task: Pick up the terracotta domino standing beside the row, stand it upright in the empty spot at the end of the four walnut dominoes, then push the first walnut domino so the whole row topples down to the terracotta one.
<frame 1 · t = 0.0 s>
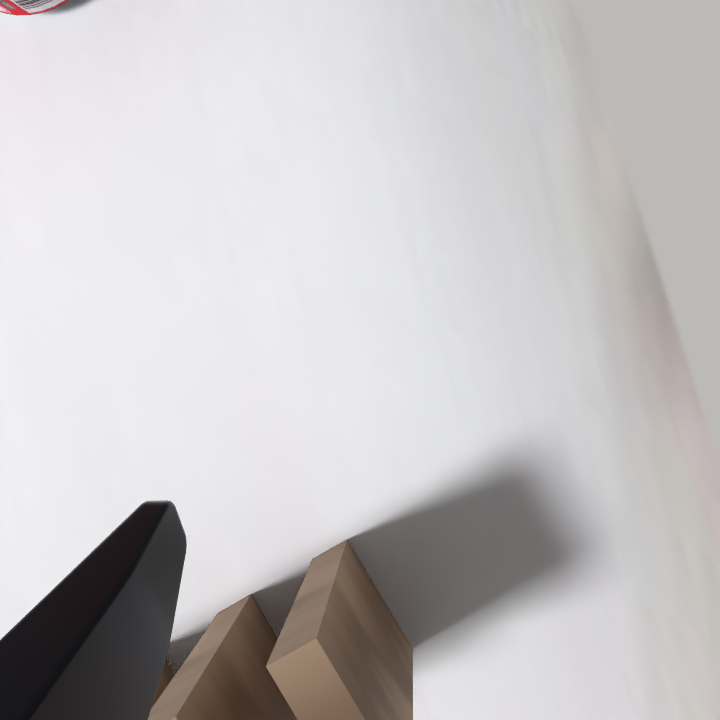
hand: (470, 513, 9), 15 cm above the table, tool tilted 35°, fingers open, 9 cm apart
domino 3: (266, 657, 25), on the table
domino 2: (173, 709, 26), on the table
domino 4: (362, 603, 25), on the table
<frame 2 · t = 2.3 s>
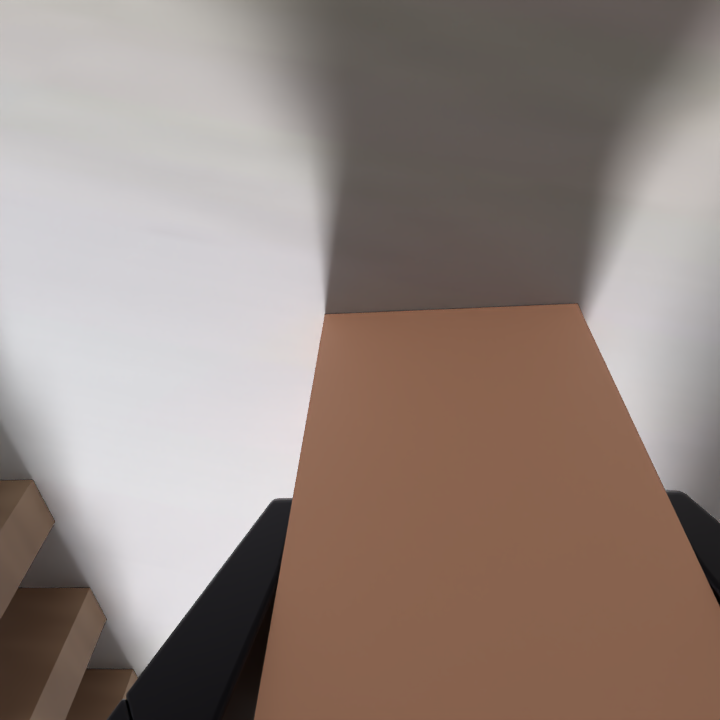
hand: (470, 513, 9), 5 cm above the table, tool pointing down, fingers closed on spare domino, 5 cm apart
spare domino: (448, 342, 13), on the table, touching gripper
domino 3: (19, 604, 19), on the table
domino 2: (70, 681, 22), on the table
when the fingers open (5 cm above the table, at t = 6.9 s): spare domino drops 1 cm, on the table.
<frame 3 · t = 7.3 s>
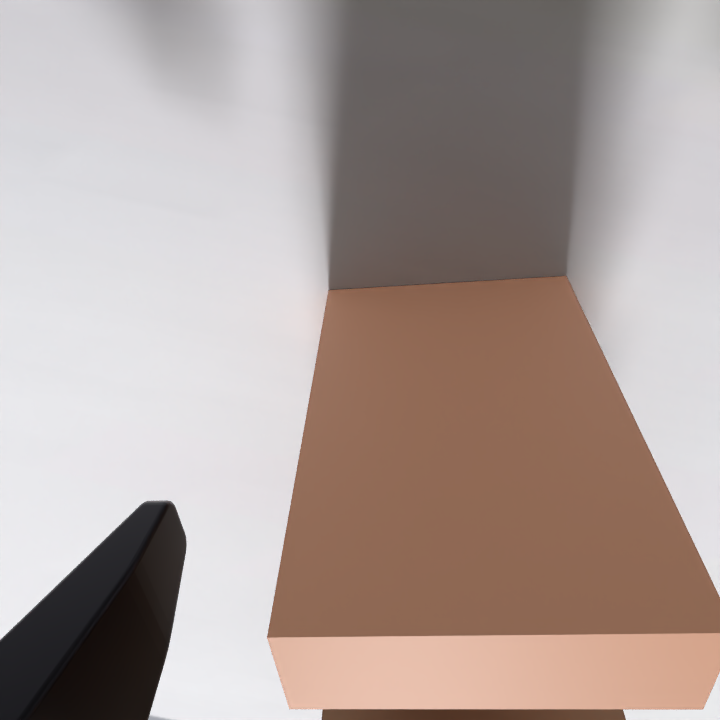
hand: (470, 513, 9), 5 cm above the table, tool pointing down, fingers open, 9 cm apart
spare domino: (445, 315, 14), on the table
domino 4: (444, 465, 16), on the table
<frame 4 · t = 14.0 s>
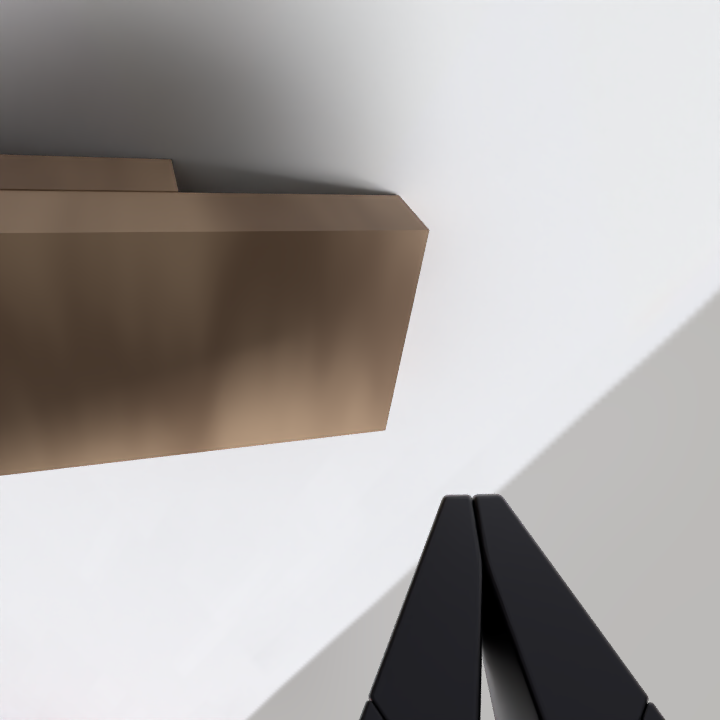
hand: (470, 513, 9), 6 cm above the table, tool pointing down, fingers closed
domino 2: (178, 288, 13), point 1 cm above the table, tilted 70°, touching domino 1, domino 3
domino 1: (391, 320, 14), point 1 cm above the table, tilted 70°, touching domino 2
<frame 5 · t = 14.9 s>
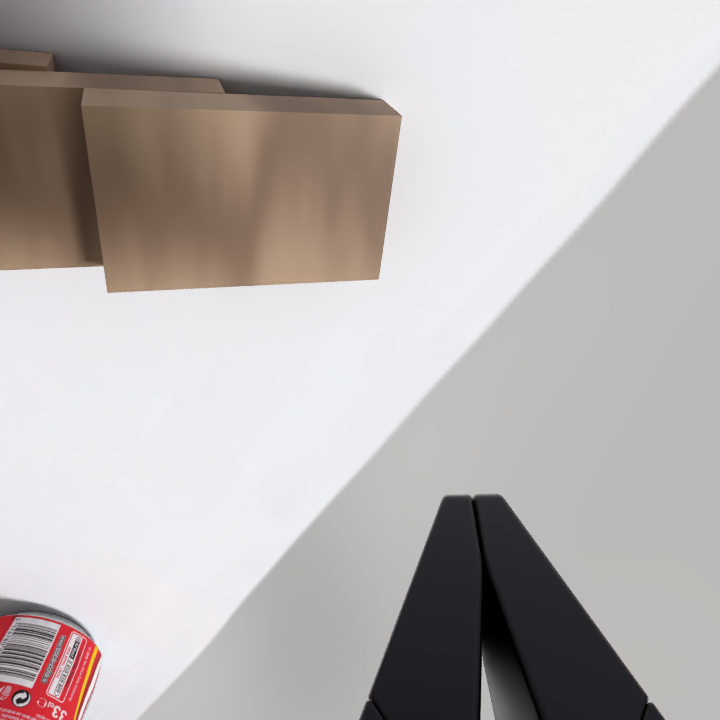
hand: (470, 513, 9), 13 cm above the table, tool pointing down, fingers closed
domino 3: (61, 150, 19), point 1 cm above the table, tilted 71°
domino 2: (223, 173, 19), point 1 cm above the table, tilted 70°, touching domino 1
domino 1: (380, 193, 19), point 1 cm above the table, tilted 71°, touching domino 2
soda can: (49, 633, 36), on the table
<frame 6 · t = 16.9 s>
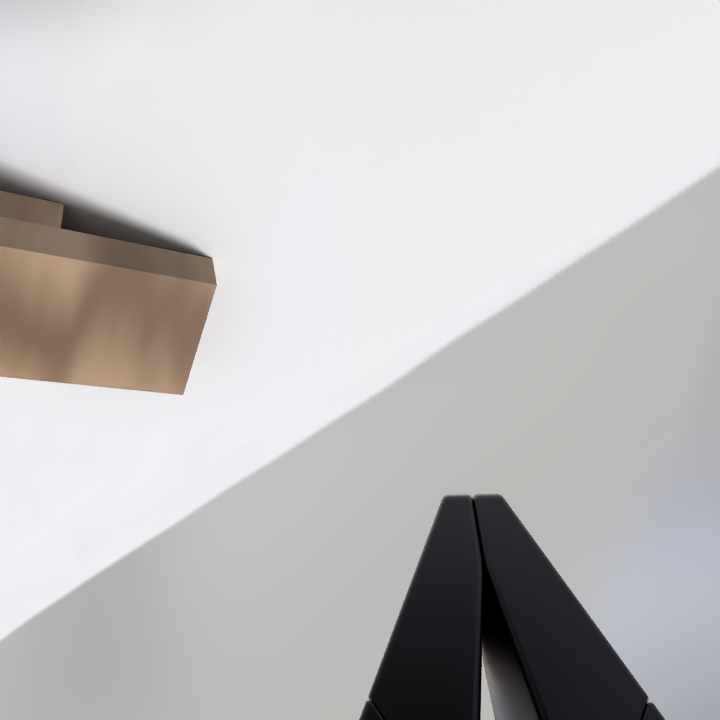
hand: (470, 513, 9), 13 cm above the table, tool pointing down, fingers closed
domino 2: (53, 279, 21), point 1 cm above the table, tilted 71°, touching domino 1, domino 3
domino 1: (197, 329, 22), point 1 cm above the table, tilted 71°, touching domino 2
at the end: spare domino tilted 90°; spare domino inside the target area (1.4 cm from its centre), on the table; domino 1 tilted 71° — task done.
